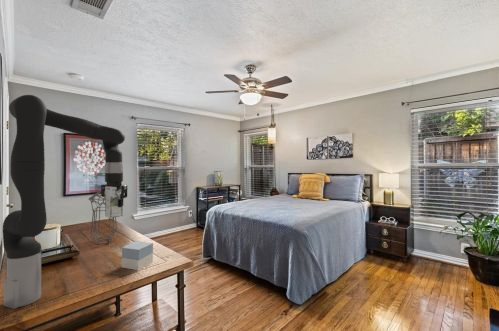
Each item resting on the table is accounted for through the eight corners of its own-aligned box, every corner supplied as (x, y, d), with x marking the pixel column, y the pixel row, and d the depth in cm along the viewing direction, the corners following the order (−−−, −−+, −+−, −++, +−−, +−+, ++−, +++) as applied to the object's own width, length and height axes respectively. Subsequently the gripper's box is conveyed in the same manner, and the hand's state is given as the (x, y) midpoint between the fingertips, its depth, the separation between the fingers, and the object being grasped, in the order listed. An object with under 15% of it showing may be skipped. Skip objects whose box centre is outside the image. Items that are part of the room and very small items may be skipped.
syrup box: (117, 214, 118) (117, 185, 118) (123, 216, 115) (122, 186, 114) (105, 216, 114) (104, 186, 114) (110, 218, 110) (110, 186, 110)
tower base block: (138, 270, 114) (138, 260, 114) (121, 267, 117) (121, 257, 117) (152, 262, 124) (152, 253, 124) (137, 260, 127) (137, 250, 127)
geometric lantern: (119, 237, 165) (120, 186, 164) (115, 245, 150) (116, 189, 149) (92, 239, 159) (93, 187, 158) (85, 247, 144) (86, 190, 143)
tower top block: (138, 260, 114) (139, 249, 114) (121, 257, 117) (122, 247, 117) (152, 252, 124) (152, 243, 124) (136, 250, 127) (136, 241, 127)
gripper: (95, 172, 113) (95, 207, 113) (119, 172, 108) (119, 209, 109) (109, 171, 120) (109, 204, 120) (132, 171, 115) (132, 206, 116)
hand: (114, 206), depth 114 cm, fingers closed on syrup box, 7 cm apart
